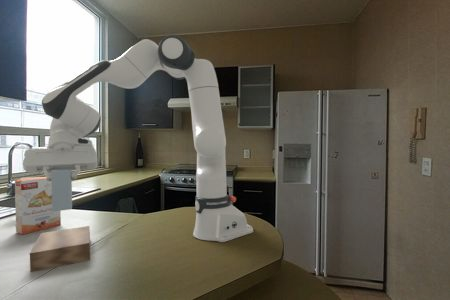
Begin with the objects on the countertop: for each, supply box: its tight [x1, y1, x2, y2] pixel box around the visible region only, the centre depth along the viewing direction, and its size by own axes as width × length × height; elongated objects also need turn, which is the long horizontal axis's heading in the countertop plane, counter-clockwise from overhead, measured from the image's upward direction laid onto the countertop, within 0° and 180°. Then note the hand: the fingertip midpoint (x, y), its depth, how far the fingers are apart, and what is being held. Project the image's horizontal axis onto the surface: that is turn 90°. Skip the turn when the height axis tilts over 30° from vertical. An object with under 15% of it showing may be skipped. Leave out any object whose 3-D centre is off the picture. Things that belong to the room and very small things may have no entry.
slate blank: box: [50, 169, 73, 212], centre depth 78 cm, size 5×5×12 cm
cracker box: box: [14, 176, 62, 236], centre depth 103 cm, size 14×6×21 cm, turn 149°
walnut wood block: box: [29, 225, 91, 273], centre depth 79 cm, size 14×18×5 cm
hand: (61, 179), depth 78 cm, fingers closed on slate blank, 5 cm apart
